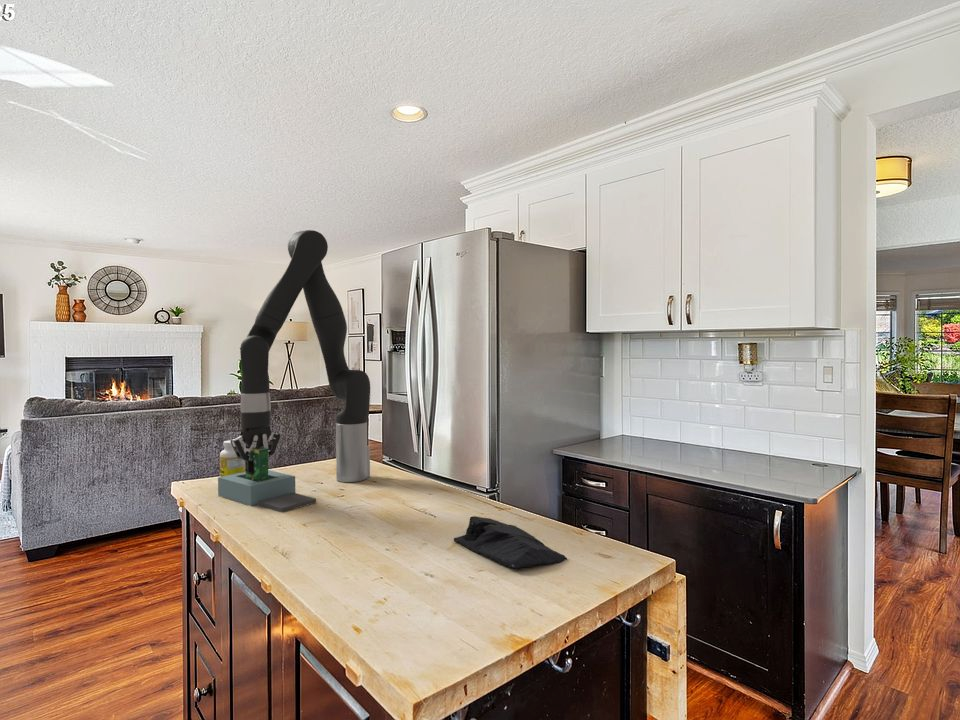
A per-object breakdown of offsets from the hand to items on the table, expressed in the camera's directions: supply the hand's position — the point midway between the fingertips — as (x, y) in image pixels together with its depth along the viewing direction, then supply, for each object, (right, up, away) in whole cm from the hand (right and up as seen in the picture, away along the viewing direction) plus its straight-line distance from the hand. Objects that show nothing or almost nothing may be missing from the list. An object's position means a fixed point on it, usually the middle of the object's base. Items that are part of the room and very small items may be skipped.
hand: (256, 472), depth 145 cm
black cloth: (+66, -8, -39) cm, 77 cm away
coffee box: (0, -6, 0) cm, 6 cm away
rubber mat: (+11, -6, -8) cm, 15 cm away
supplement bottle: (-12, -6, +11) cm, 17 cm away
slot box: (0, -6, 0) cm, 6 cm away
